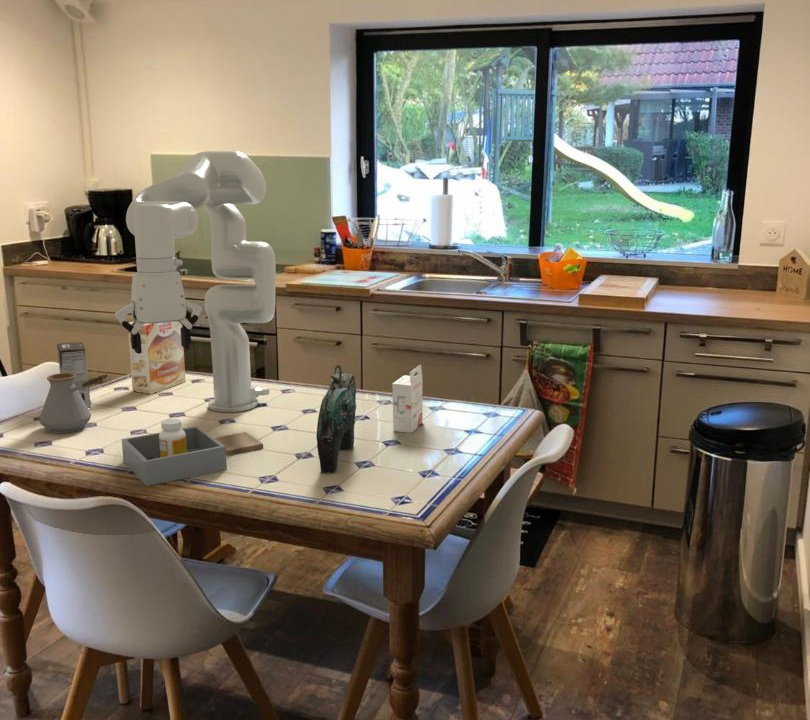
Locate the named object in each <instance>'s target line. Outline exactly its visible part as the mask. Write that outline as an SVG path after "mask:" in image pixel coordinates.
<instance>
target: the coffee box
mask: <svg viewBox="0 0 810 720" xmlns="http://www.w3.org/2000/svg"><path fill="white" fill-rule="evenodd" d="M56 348H57V356H58V358H57V359H58V366H59V374H61V373H72V374H75V375H76V377H75V378H74V385H75V387H76V386H79V385H81V384H83V383H85V382H87V381H89V372H88V370H89V369H88V361H87V359H88V358H87V352H86V351H87V349H86V347H85V345H84V342H83V341H77V342H72V341H71V342H59V343H57V344H56ZM78 392H79V394H80V395H81V397H82V399H83V400H84V402H85V404H86V406H87V407H88V408H90V409H91V407H92V406H91V395H90V385H89V386H86V387H83V388H81V389H78Z"/></svg>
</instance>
